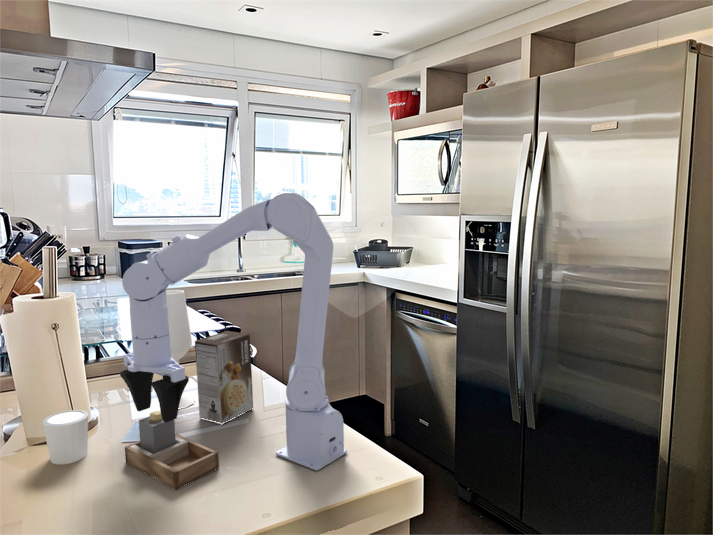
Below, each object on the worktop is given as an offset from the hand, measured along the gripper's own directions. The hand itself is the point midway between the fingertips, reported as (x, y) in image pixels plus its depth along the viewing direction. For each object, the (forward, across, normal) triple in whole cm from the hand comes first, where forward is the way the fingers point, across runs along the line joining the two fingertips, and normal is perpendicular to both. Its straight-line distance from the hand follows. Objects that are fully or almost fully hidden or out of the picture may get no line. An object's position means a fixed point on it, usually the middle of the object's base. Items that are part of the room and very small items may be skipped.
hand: (156, 414), depth 91 cm
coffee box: (+8, -6, +19) cm, 21 cm away
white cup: (+8, -13, -9) cm, 18 cm away
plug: (+7, 0, 0) cm, 7 cm away
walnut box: (+8, +4, 0) cm, 9 cm away
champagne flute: (+8, -18, +16) cm, 26 cm away
